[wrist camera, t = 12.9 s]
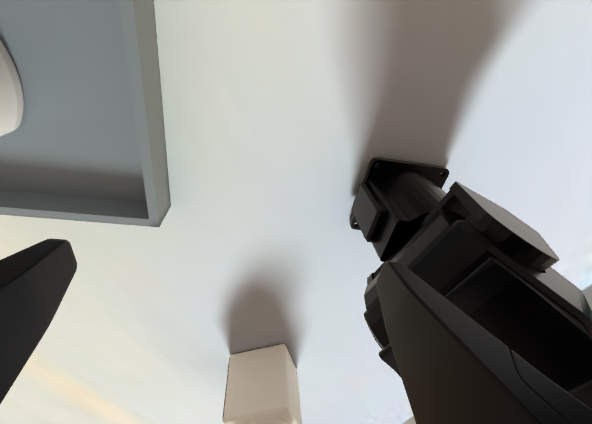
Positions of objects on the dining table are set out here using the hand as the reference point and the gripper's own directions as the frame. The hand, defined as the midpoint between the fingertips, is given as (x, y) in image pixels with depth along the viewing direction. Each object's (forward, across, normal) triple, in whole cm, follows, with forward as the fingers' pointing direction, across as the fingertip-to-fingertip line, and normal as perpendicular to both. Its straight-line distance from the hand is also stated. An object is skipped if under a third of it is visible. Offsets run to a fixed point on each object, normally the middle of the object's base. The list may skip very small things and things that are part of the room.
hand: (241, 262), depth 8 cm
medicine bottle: (+13, -4, +30) cm, 33 cm away
